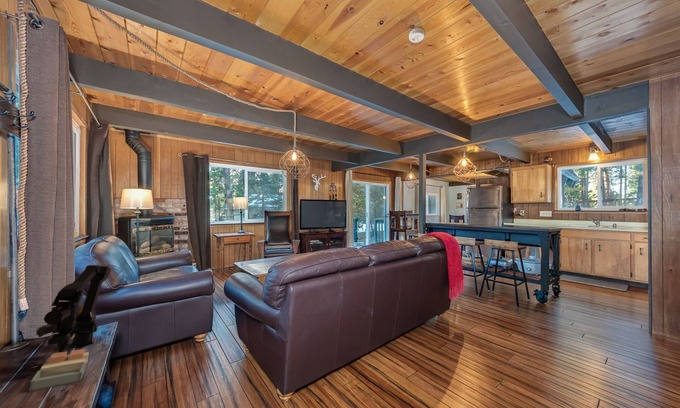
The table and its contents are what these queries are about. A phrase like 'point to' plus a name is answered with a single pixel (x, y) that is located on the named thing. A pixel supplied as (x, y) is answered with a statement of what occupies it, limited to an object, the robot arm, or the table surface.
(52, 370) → the shallow cream tray
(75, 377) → the tray
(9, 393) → the table surface
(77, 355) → the tile
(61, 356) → the tile
